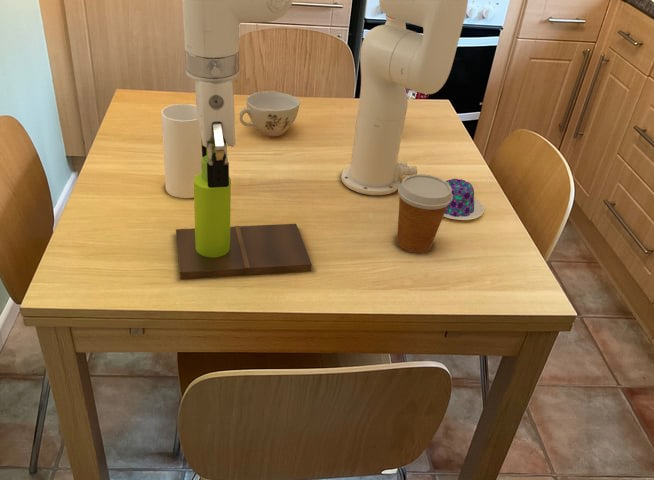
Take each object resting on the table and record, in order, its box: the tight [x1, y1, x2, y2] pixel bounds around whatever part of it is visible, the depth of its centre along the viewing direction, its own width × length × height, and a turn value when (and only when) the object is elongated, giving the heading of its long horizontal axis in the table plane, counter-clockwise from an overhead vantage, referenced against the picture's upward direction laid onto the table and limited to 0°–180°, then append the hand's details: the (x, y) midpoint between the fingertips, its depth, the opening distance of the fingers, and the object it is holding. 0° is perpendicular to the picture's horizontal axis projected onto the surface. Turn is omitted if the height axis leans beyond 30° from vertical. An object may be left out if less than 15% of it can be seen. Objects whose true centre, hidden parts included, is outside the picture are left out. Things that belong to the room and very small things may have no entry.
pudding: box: [443, 178, 485, 221], centre depth 126 cm, size 12×12×5 cm
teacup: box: [238, 90, 301, 137], centre depth 148 cm, size 15×12×8 cm
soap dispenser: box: [193, 140, 232, 258], centre depth 102 cm, size 6×7×20 cm
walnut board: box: [175, 223, 313, 280], centre depth 109 cm, size 22×13×2 cm, turn 101°
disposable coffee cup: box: [396, 173, 453, 254], centre depth 112 cm, size 10×10×12 cm
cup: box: [160, 103, 203, 199], centre depth 122 cm, size 8×8×16 cm
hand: (215, 171), depth 99 cm, fingers open, 9 cm apart
